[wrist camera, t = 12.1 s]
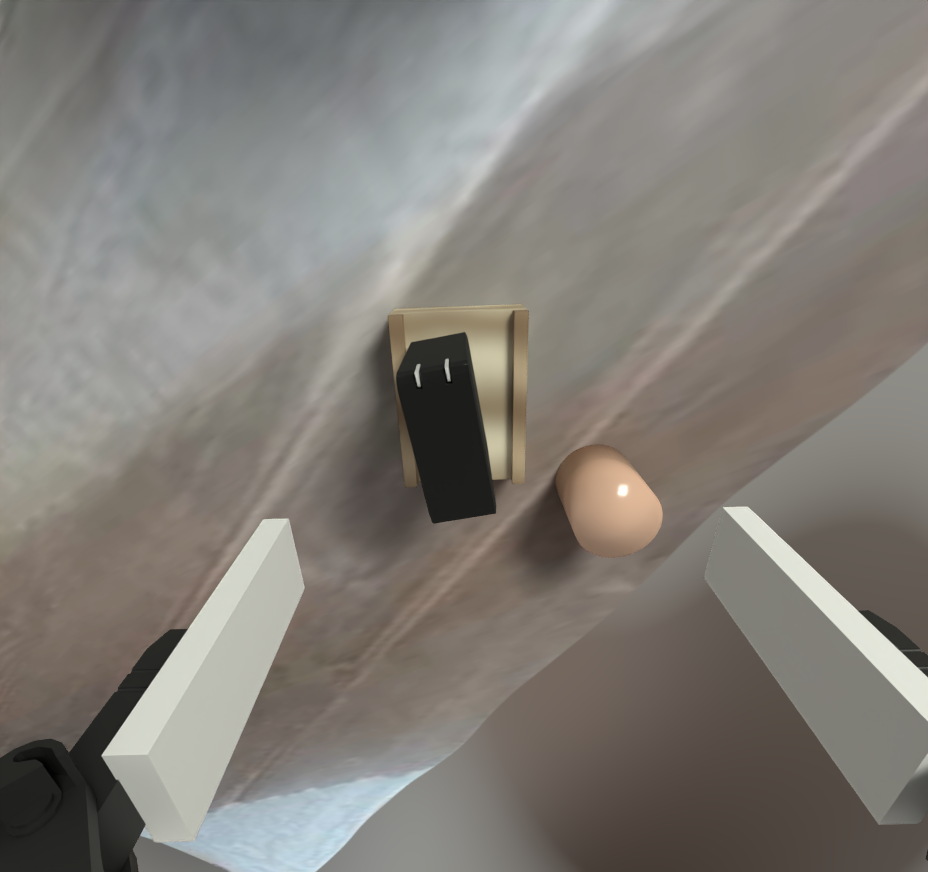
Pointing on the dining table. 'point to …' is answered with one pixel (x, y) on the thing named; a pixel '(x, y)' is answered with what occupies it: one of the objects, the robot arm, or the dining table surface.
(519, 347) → the stand
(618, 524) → the peach rounded cylinder
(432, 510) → the electronic device
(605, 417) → the dining table surface
